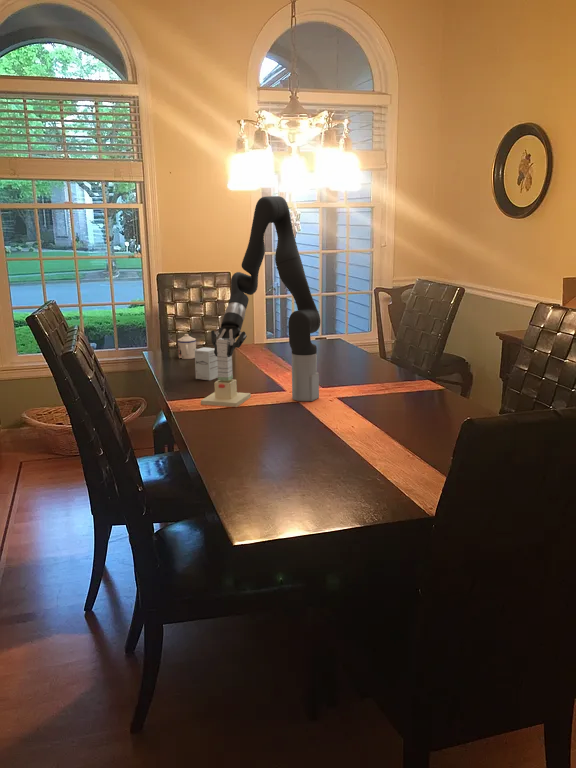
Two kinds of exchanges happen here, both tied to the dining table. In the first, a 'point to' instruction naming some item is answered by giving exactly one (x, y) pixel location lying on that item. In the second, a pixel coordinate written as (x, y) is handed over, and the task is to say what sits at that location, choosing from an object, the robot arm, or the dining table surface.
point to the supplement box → (206, 364)
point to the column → (224, 360)
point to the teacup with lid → (187, 347)
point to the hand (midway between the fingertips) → (222, 355)
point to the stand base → (226, 394)
